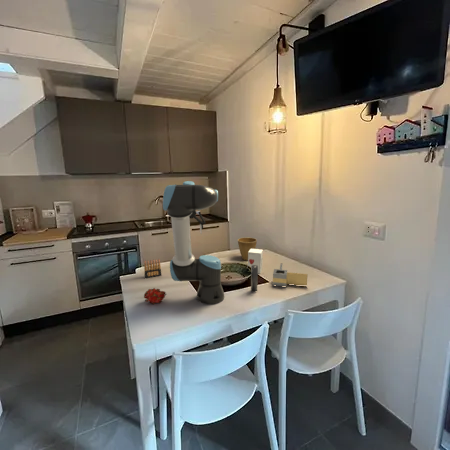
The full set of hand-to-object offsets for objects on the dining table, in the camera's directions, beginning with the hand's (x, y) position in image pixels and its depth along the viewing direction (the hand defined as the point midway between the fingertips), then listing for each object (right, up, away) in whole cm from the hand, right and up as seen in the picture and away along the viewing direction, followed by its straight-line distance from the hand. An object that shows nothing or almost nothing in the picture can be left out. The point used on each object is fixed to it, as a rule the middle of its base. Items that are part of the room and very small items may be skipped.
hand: (191, 233), depth 184 cm
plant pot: (+41, -21, +28) cm, 54 cm away
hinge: (+65, -30, -14) cm, 72 cm away
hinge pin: (+40, -32, -27) cm, 58 cm away
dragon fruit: (-14, -35, -41) cm, 56 cm away
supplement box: (+44, -26, +3) cm, 52 cm away
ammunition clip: (-24, -28, -7) cm, 38 cm away
